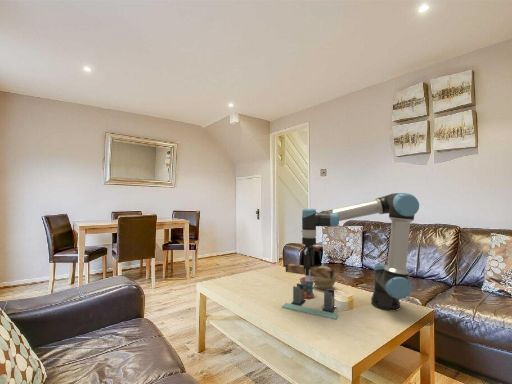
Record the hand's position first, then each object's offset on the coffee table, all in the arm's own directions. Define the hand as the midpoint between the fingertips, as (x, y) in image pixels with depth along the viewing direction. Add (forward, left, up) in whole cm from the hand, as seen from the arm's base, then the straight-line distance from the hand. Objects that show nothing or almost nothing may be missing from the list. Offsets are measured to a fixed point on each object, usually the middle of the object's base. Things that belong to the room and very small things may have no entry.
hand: (309, 279), depth 144 cm
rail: (0, 0, +3) cm, 3 cm away
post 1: (+9, -8, -17) cm, 21 cm away
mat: (0, 0, -17) cm, 17 cm away
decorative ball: (+2, -39, -17) cm, 43 cm away
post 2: (-9, -8, -17) cm, 21 cm away
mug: (+7, -21, -17) cm, 28 cm away
